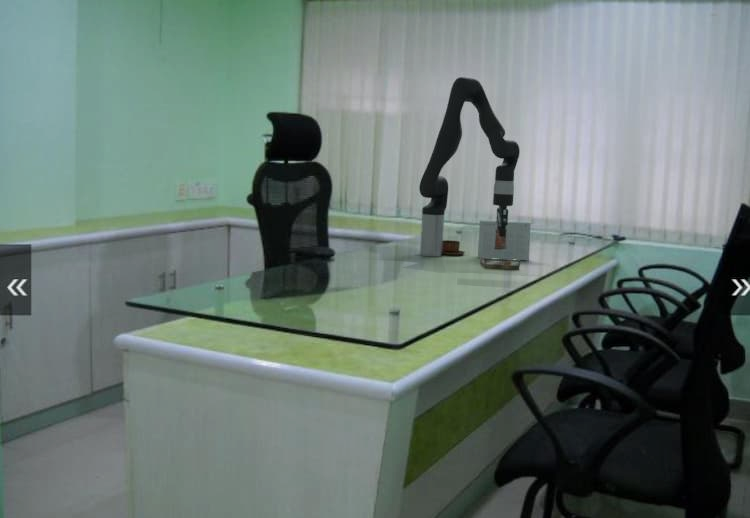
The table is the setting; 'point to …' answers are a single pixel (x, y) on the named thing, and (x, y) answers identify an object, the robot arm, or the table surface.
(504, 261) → the shelf board
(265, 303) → the table surface
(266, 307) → the table surface
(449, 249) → the cup and saucer
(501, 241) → the lighter
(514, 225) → the skincare box
